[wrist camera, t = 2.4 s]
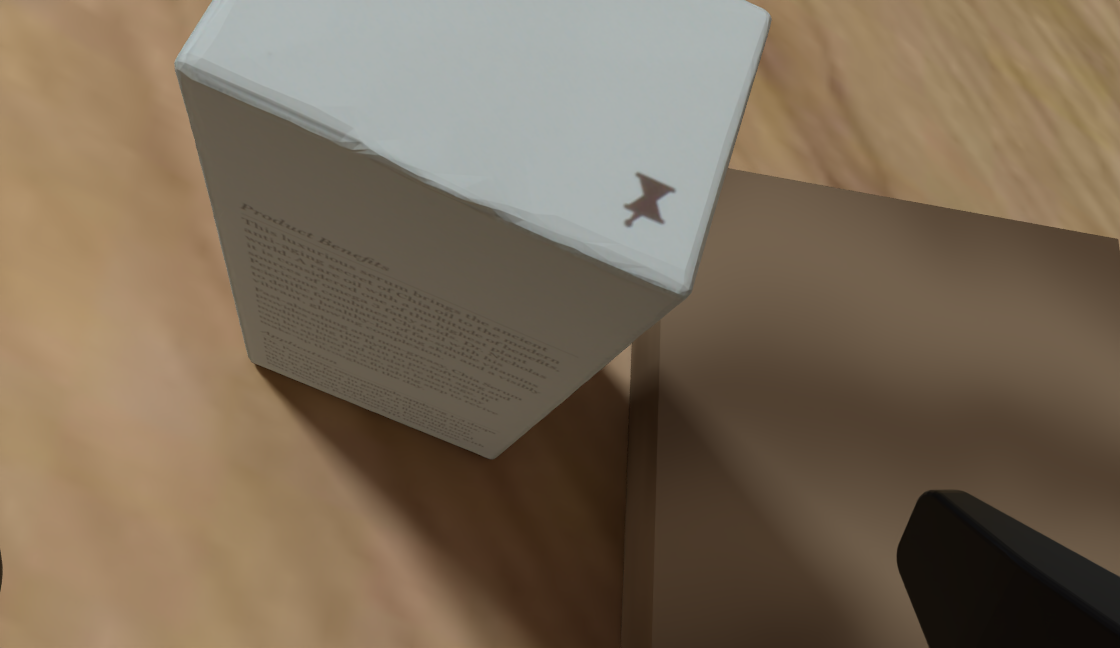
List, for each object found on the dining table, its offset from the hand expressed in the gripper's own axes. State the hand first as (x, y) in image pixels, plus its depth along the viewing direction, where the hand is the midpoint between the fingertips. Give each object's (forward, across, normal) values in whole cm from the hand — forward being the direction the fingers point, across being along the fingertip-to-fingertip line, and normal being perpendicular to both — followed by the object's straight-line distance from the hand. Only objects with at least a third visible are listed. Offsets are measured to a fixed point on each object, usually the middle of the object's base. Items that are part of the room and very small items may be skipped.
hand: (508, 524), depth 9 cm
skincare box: (+12, 0, +5) cm, 13 cm away
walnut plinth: (+10, -12, +7) cm, 17 cm away
